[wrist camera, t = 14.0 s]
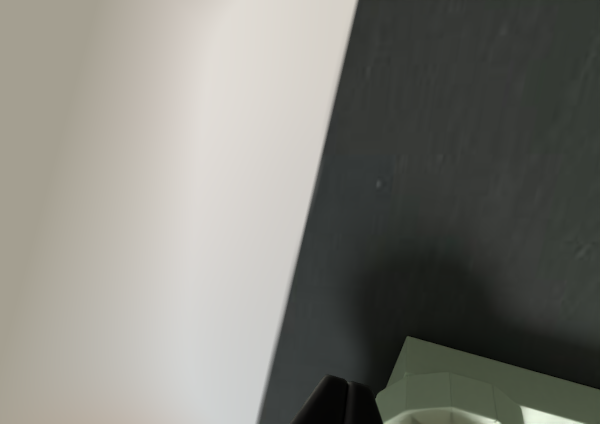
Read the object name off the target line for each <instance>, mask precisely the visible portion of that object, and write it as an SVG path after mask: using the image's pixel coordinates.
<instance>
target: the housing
mask: <svg viewBox="0 0 600 424" xmlns="http://www.w3.org/2000/svg"><path fill="white" fill-rule="evenodd" d="M375 400H376V403H377V406H378V409H379V412H380V415H381V418H382V421H383V424H600V390H599V389H595V388H592V387H588V386H585V385H581V384H577V383H574V382H570V381H567V380H563V379H560V378H556V377H552V376H549V375H545V374H542V373H538V372H534V371H531V370H527V369H524V368H520V367H517V366H513V365H509V364H506V363H502V362H499V361H495V360H492V359H488V358H484V357H481V356H477V355H474V354H470V353H467V352H463V351H459V350H456V349H452V348H449V347H445V346H441V345H438V344H434V343H431V342H427V341H424V340H420V339H416V338H413V337H409V336H407V337H406V340H405V342H404V345H403V347H402V350H401V352H400V354H399V357H398V359H397V362H396V364H395V367H394V369H393V371H392V374H391V376H390V379H389V381H388V384H387V386H386V388H385V389H384V390H382V391H380V392H379V393H378V394H377V396H376V399H375Z"/></svg>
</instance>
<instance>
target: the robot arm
mask: <svg viewBox="0 0 600 424" xmlns="http://www.w3.org/2000/svg"><path fill="white" fill-rule="evenodd" d="M290 424H383V421H382V418H381V415H380V412H379V409H378V406H377V403H376V400H375V397H374V394H373V392H372V389H371V388H370V387H369V386H367V385H363V384H360V383H356V382H353V381H351V382H349V383H348V384H347V381H346V380H345V379H342V378H339V377H336V376H332V375H326V376H324V378H323V379H322V380H321V382H320V383H319V384H318V386H317V387H316V388H315V390H314V391H313V392H312V394H311V395H310V397H309V398H308V399H307V401H306V402H305V403H304V405H303V406H302V408H301V409H300V410H299V412H298V413H297V414H296V416H295V417H294V418H293V420H292V421H291V423H290Z"/></svg>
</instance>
